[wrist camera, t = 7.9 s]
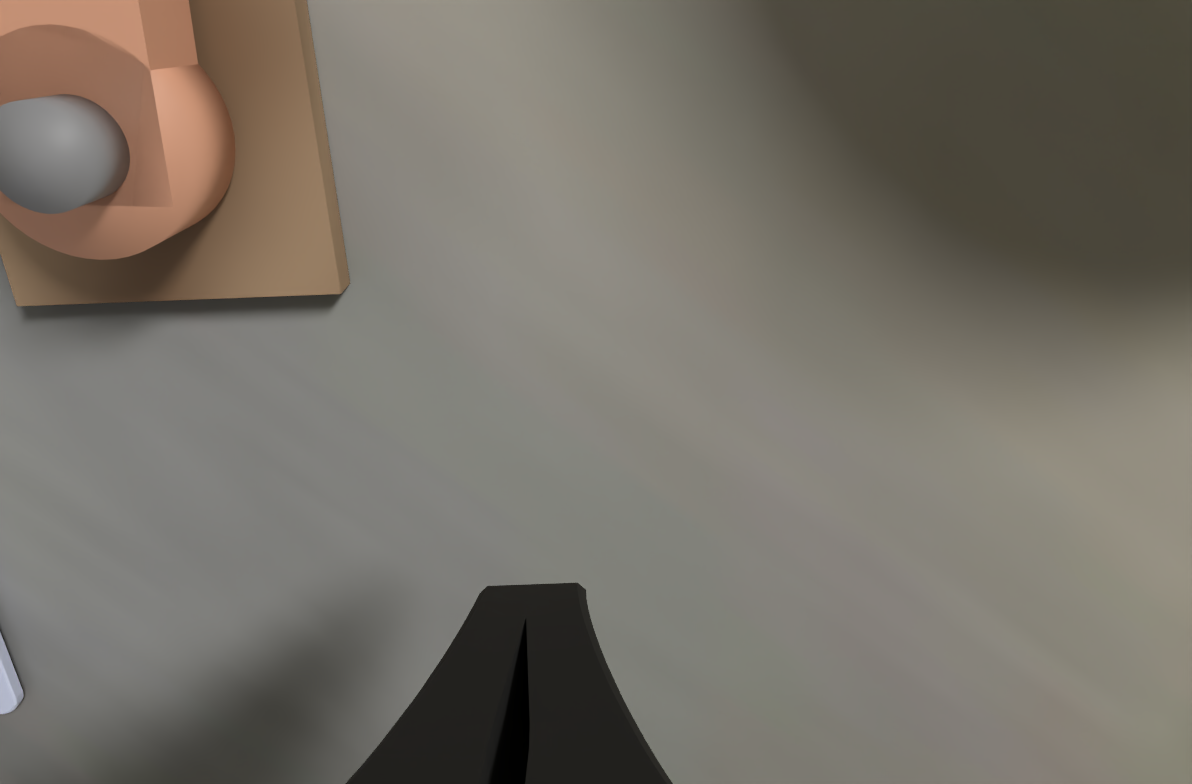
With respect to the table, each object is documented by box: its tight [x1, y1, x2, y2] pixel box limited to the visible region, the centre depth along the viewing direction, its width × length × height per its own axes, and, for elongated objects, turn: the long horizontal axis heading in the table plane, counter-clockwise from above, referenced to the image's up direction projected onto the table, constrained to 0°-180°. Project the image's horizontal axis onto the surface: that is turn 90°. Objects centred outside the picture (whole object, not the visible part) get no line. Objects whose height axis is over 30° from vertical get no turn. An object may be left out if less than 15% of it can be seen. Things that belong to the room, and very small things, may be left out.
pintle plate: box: [0, 0, 350, 306], centre depth 18 cm, size 7×7×1 cm
